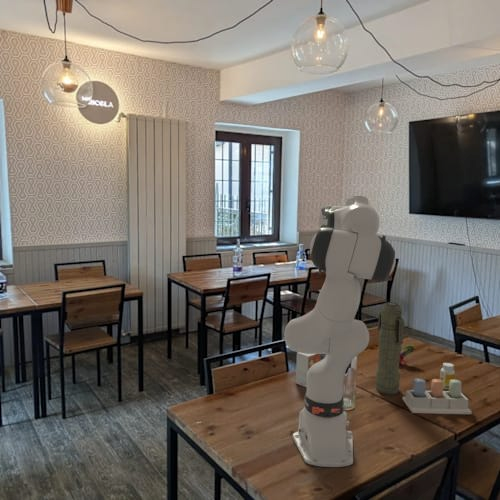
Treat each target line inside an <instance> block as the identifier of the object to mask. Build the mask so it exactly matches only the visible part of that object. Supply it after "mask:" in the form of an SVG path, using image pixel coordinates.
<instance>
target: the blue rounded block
mask: <svg viewBox="0 0 500 500" xmlns="http://www.w3.org/2000/svg"><path fill="white" fill-rule="evenodd" d="M426 382H427V381H426V380H424V379H422V378H414V379H413V387H412V390H413V396H414V397H425V391H426Z"/></svg>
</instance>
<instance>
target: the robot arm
mask: <svg viewBox="0 0 500 500" xmlns="http://www.w3.org/2000/svg"><path fill="white" fill-rule="evenodd" d="M345 200H346V202H345V205H330V204H326V205H324V206H323V207H322V208H321V210H320V212H319V213H318V225H319V229H318V230H317V232H315V234H314V235H313V237H312V239H311V241H310V246H309V253H310V259H311V261H312V263H313V265H314V267H315V268H316V269H317V270H318V274H320V275H321V274H322V271H323V273H324V274H325V280H324V282H323V284H322V287H321V289H320V291H319V293H318V296H317V299H316V303H315V306H314V307H313V309H312V310H310V311H309V312H308V313H306V314H304V315H302V316H298V317H296V318H293V319H290V320H289V322H288V323H287V324H286V326H285V327H284V328H285V329H284V333H283V334H284V335H283V336H284V337H283V338H284V341H285V344H286V345H287V347H288V349H289V350H290V351H292V352H296V353H298V352H300V353H305V354H321V355H325V357H324V358H323V359H320V361H319V362H317V363H315V364H314V365H312V366H311V367H310V369H309V370H308V373H307V387H306V391H305V394H304V398H303V399H304V407H303V408H302V409H301V410H300V411H299V417H298V427H297V428H298V429H297V431H295V432H294V433H292V439H293V441H294V443H295V445H296V448H297V449H298V451H299V453H300V455H301V456H302V458H303V461H304V462H305V463H306V464H308V465H312V466H315V467H316V466H317V467H324V468H325V467H326V468H342V467H349V466H351V465H353V464H354V442H353V441H354V438H353V434H352V433H353V432H352V430H347V427H350V421H347V415H348V414H347V412H346V411H345V410H344V408H345V407H344V406H345V401H344V396H343V389H344V379H345V375H346V371H347V369H348V367H349V365H350V364H351V362H352V361H353V360H354V359H355V358H356V357H357V356H358V355H359V354H361V353H363V352H364V351H366V349H367V347H368V345H369V343H370V331H369V329H368V326H367V325H366V323H365V322H364V321H362V320H359V319H356V318H355V317H356V315H357V312H358V310H359V306H360V303H361V296H362V295H361V294H362V288H361V284H360V282H359V280H358V279H357V278H359V279H365V280H370V281H371V282H385V281H386V280H387V279H389V277H390V276H391V274H392V272H393V271H394V270H395V267H396V261H397V260H396V259H397V257H396V251H395V248H394V247H393V246H392V244H391V243H390V242H389V241H388V240H386V239H387V238H386V236H385V235H384V234H383V235H382V236H379V235H377V233H378V231H379V228H380V224H381V223H380V217H379V214H378V212H377V211H376V209H375V208H373V207H372V206H371V205H369V198H367V197H366V196H361V195H360V196H359V195H354V196H353V195H352V196H349V197H347V198H346V199H345Z"/></svg>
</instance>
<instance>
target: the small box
mask: <svg viewBox="0 0 500 500" xmlns="http://www.w3.org/2000/svg"><path fill="white" fill-rule="evenodd" d="M321 356H322V354H305V353H300V352H296V361H295V362H296V365H295V368H296V369H295V384H297V385H299V386H301V387H305V388H307V373H308V370H309V369H310V367H311V366H312V365H314V364H315V363H317V362H319V361H321Z"/></svg>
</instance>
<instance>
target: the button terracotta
mask: <svg viewBox="0 0 500 500" xmlns="http://www.w3.org/2000/svg"><path fill="white" fill-rule="evenodd" d="M443 384H444V382H443V381H442V380H440V378H439V379H437V378H433V379H431V386H430V391H431V397H432V398H443V391H444V389H443Z"/></svg>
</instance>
